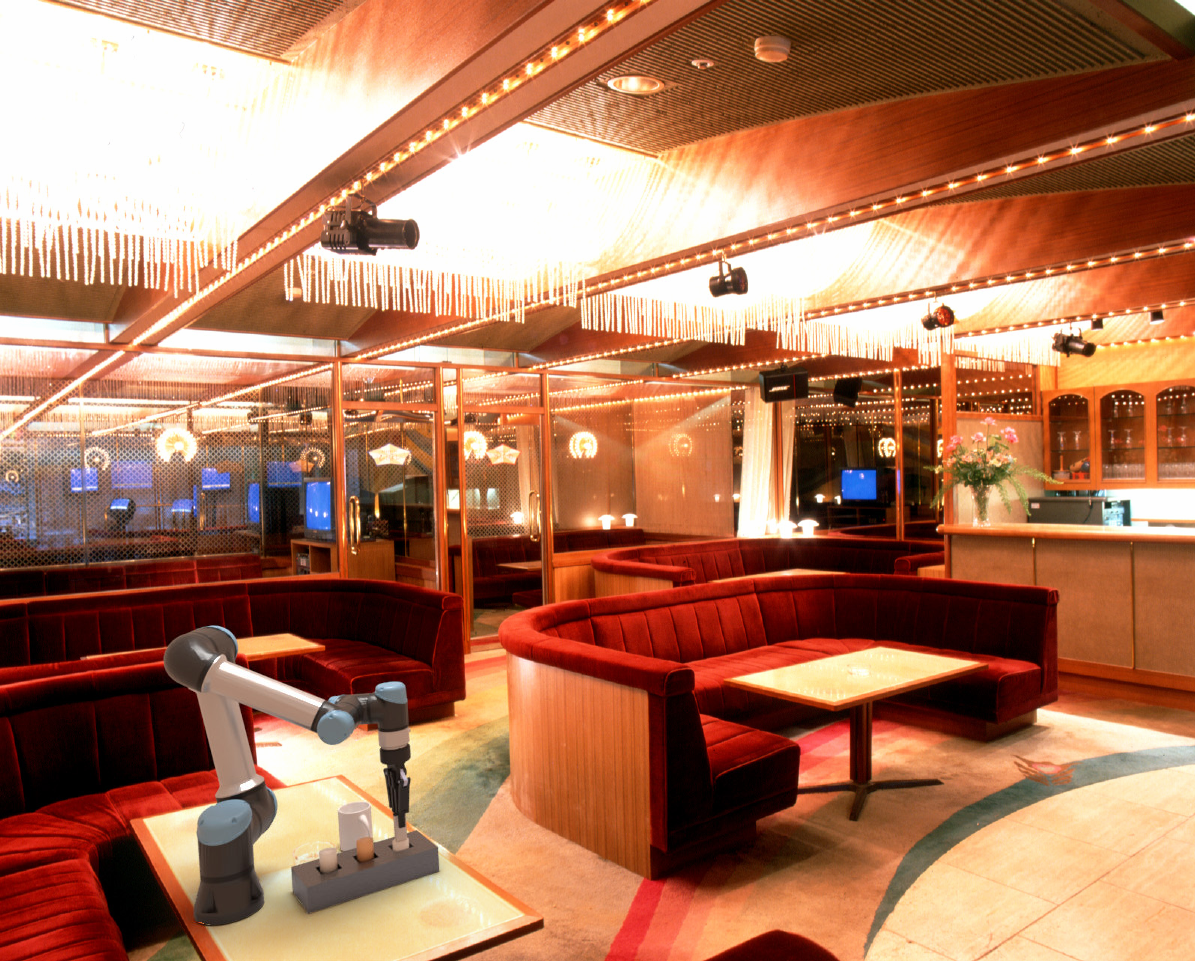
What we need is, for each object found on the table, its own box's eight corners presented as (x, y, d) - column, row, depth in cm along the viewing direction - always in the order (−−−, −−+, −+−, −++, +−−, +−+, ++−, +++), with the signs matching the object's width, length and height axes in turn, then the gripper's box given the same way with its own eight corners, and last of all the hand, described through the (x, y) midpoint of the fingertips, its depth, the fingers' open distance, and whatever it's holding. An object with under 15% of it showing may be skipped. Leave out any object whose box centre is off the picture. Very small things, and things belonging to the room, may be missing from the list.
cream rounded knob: (396, 865, 210) (395, 844, 210) (391, 859, 213) (390, 839, 213) (412, 860, 212) (411, 840, 212) (406, 855, 215) (405, 835, 215)
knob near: (322, 877, 200) (321, 856, 200) (318, 871, 203) (316, 850, 203) (339, 872, 202) (338, 851, 202) (334, 866, 205) (333, 845, 205)
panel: (308, 913, 193) (306, 887, 193) (292, 891, 204) (291, 866, 204) (439, 871, 211) (438, 846, 211) (418, 852, 222) (416, 830, 222)
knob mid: (360, 865, 205) (359, 845, 205) (355, 860, 208) (354, 840, 208) (376, 861, 207) (375, 840, 207) (371, 855, 210) (369, 835, 210)
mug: (355, 859, 220) (353, 818, 221) (334, 847, 229) (332, 808, 229) (385, 848, 226) (382, 808, 226) (363, 837, 235) (361, 798, 235)
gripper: (418, 747, 209) (425, 842, 209) (399, 736, 220) (405, 827, 220) (389, 754, 205) (395, 851, 205) (371, 742, 216) (377, 835, 216)
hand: (401, 838), depth 213 cm, fingers closed
